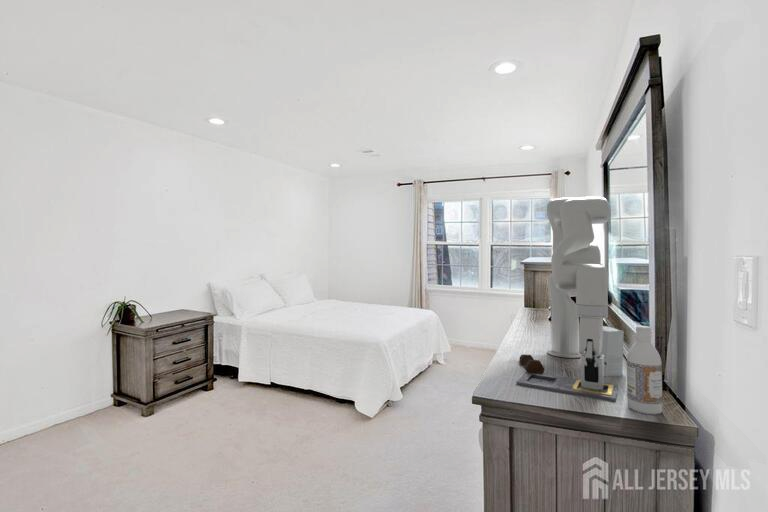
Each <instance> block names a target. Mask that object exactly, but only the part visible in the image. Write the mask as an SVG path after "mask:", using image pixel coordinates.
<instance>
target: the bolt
mask: <svg viewBox="0 0 768 512" xmlns="http://www.w3.org/2000/svg"><path fill="white" fill-rule="evenodd" d="M518 358H519V361H518V362H519V364H520V365H521V366H524V369H525V371H526V372H527V371H528V372H534V373H541V374H544V372H545V367H544V366H543V364H542V362H541V361H540V360H539V359H534V357H533V356H532V354H521V355H520V356H519V357H518Z"/></svg>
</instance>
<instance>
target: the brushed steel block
mask: <svg viewBox="0 0 768 512" xmlns="http://www.w3.org/2000/svg"><path fill="white" fill-rule="evenodd" d="M592 355H595V354H592ZM593 358H594V357H593ZM584 365H585V352H584V353H583V354H582V355H581V357H580V379H581V386H583V387H589V388H595V389H601V390H603V387H604V383H605V376H604V355H601V354H600V355H599V356H597V367H598V383H595V382H588V381H585V379H584Z"/></svg>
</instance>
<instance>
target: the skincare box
mask: <svg viewBox="0 0 768 512" xmlns="http://www.w3.org/2000/svg"><path fill="white" fill-rule="evenodd" d="M624 334H625V333H624V330H620V329H617V328H615V327H609V326H606V325H603V345H602V351H601V353H600V354H601V355H604V377H619V376H620V377H621V376H623V370H624V369H623V367H624V366H623V361H624Z"/></svg>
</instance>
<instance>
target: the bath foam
mask: <svg viewBox="0 0 768 512" xmlns="http://www.w3.org/2000/svg"><path fill="white" fill-rule="evenodd" d="M635 331H636V332H635V337H636V341H635V342H634V343H633V345H632V346H631V347H630V348H629V350H628V353H627V357H626V382H627V383H626V388H627V389H626V390H627V391H626V392H627V394H626V396H627V407H628V408H629V409H630V410H632V411H634V412H637V413H639V414H645V415H651V416H652V415H655V416H656V415H660V414H661V413H662V412H663V369H662V368H663V365H662V359H661V356H660V354H659V353H660V352H659V351H658V350H657V348H656V347H655V345H654V344H653V343H652V327H651V326H647V325H637V326H636V327H635Z"/></svg>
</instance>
